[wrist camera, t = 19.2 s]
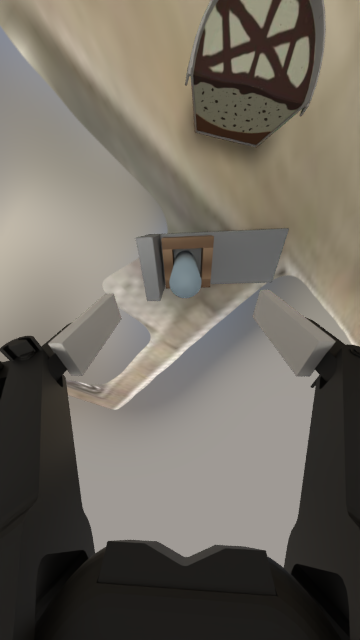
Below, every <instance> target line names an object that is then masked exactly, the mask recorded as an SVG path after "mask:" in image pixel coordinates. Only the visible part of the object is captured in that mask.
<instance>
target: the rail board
mask: <svg viewBox="0 0 360 640" xmlns="http://www.w3.org/2000/svg"><path fill="white" fill-rule="evenodd" d="M288 230H289V229H288V228H284V229H261V230H239V231H216V232H194V233H171V234H149V235H145V236H141V237H137V238H136V242H137V247H138V253H139V259H140V264H141V270H142V275H143V281H144V286H145V292H146V297H147V301H160V300H161V297H162V294H163V291H164V288H165V285H166V282H165V272H164V261H163V251H162V241H161V238H163V237H181V236H204V235H212V236H214V244H213V257H212V269H211V282H210V284H230V283H265V282H272V280H273V277H274V274H275V271H276V268H277V264H278V261H279V258H280V255H281V252H282V249H283V246H284V243H285V239H286V236H287V233H288ZM184 250H187V251H189V252H191V253H192V254H193V256H194V258H195V261H196V264H197V268H198V271H199V274H200V273H201V248H193V249H173V251H174V262H175V259H176V256H177V254H178V253H179V252H181V251H184Z"/></svg>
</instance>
